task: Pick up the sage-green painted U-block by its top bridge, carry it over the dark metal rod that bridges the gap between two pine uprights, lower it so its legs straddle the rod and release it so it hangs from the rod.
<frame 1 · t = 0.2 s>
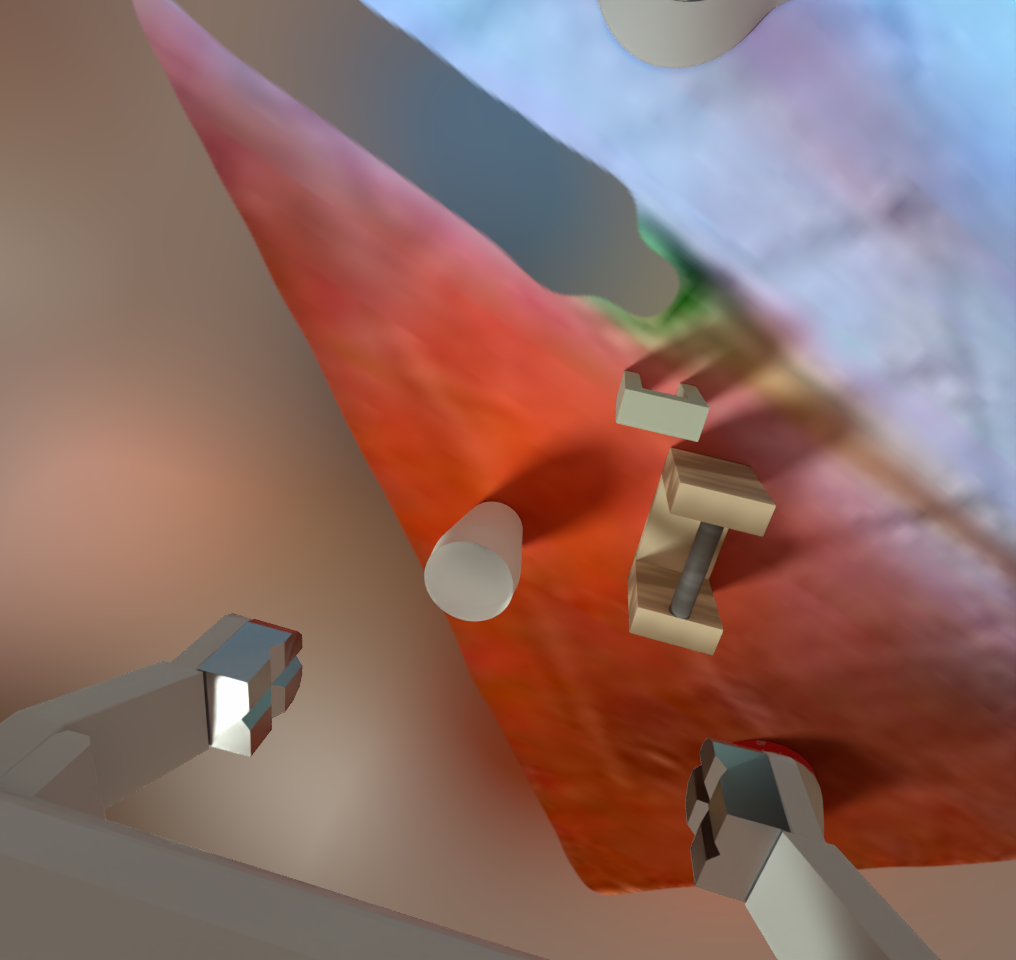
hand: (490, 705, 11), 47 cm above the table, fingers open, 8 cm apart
kitchen timer: (755, 780, 69), on the table
wooden frame with rod: (685, 525, 58), on the table
cup: (494, 526, 63), on the table
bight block: (655, 393, 54), on the table
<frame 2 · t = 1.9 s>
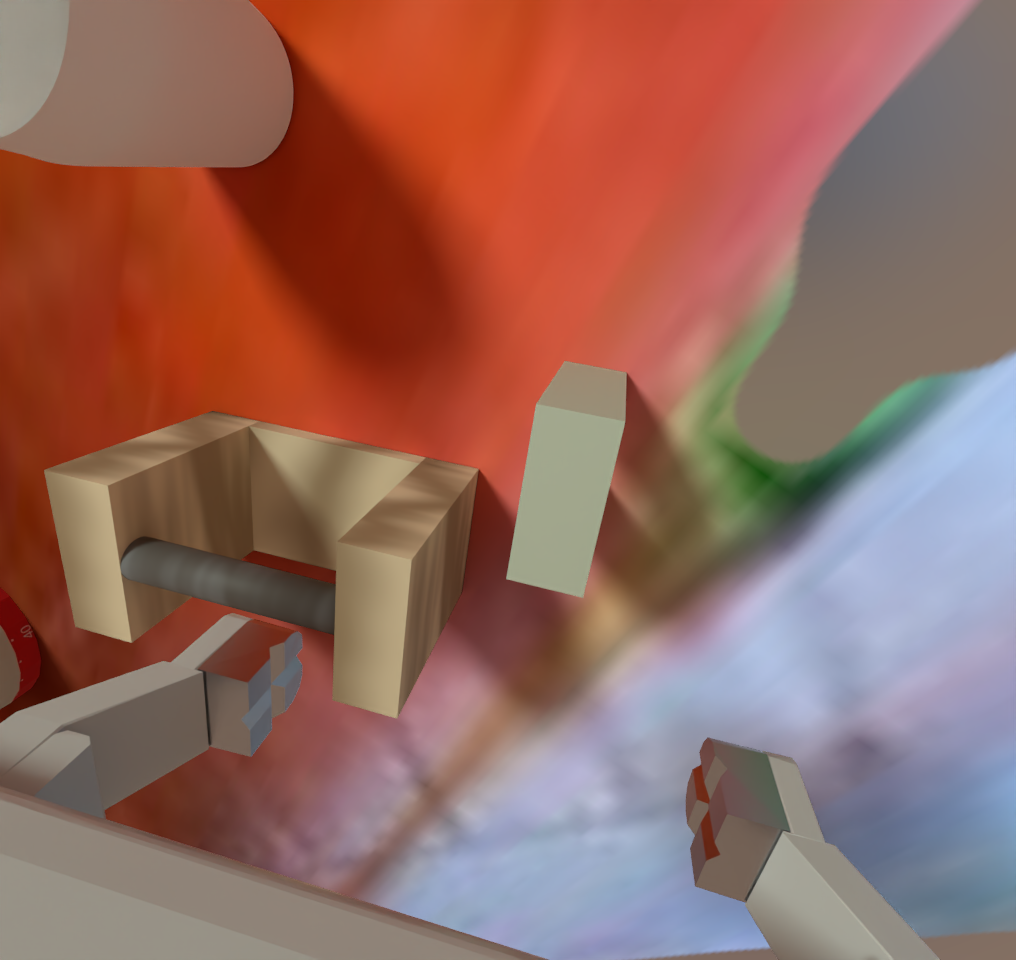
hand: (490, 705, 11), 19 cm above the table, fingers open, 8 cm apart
wooden frame with rod: (339, 502, 32), on the table
cup: (232, 87, 25), on the table
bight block: (581, 435, 28), on the table
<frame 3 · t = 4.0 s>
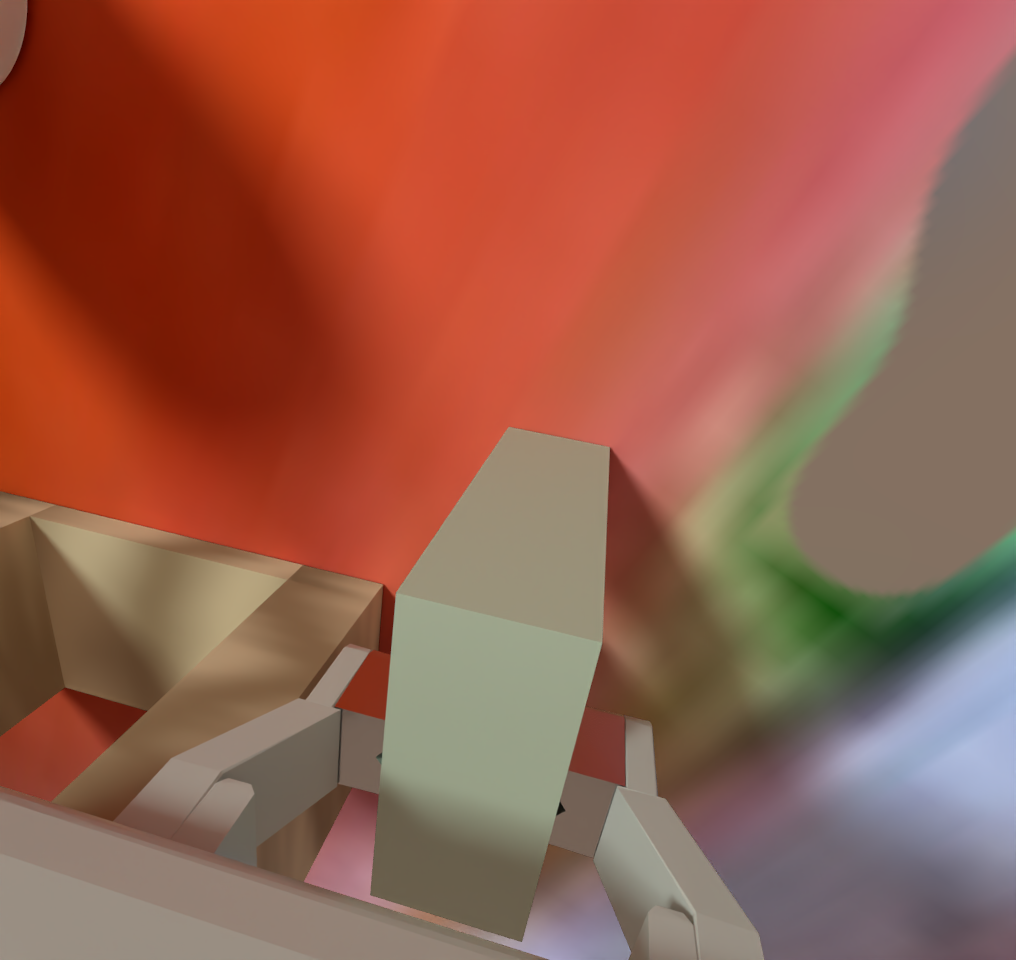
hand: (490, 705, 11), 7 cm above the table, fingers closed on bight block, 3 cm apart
wooden frame with rod: (184, 623, 22), on the table
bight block: (538, 541, 17), on the table, touching gripper
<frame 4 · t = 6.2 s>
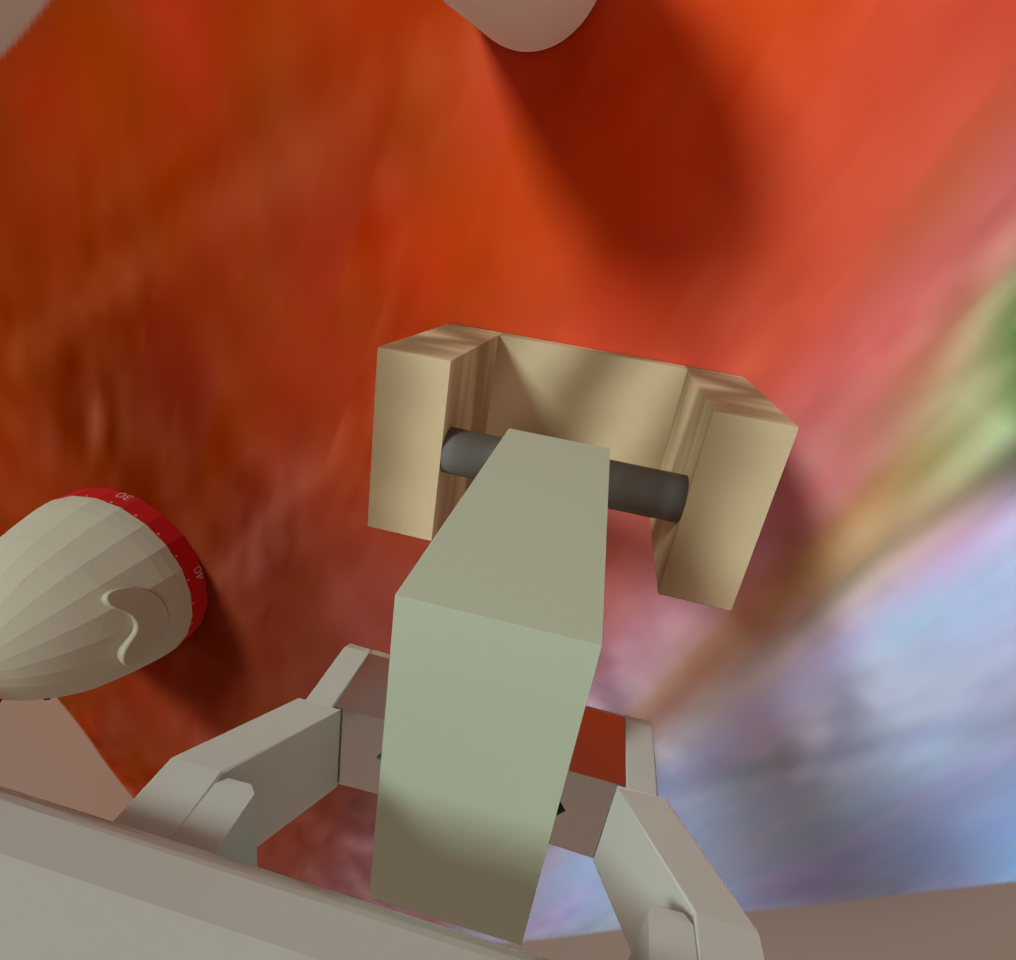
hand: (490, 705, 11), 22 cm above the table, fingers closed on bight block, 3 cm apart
kitchen timer: (129, 569, 43), on the table
wooden frame with rod: (577, 419, 31), on the table
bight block: (538, 542, 17), point 15 cm above the table, touching gripper
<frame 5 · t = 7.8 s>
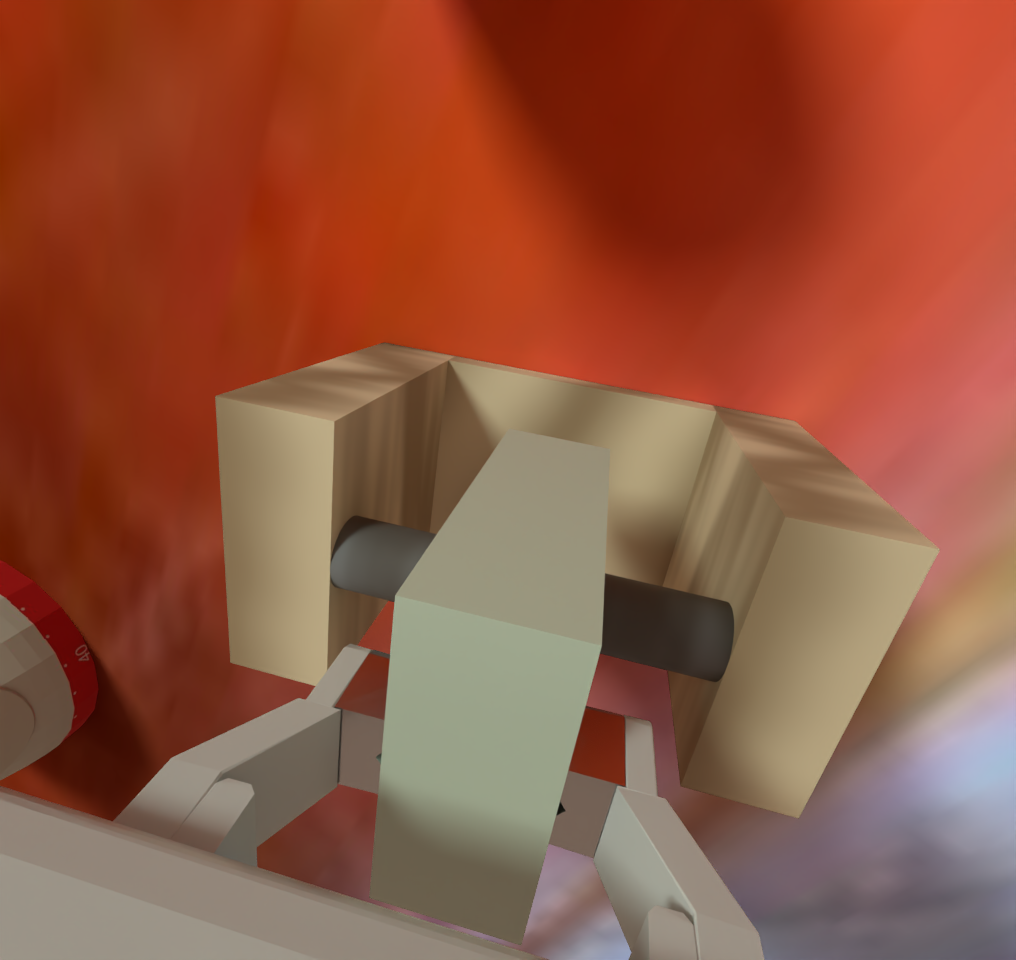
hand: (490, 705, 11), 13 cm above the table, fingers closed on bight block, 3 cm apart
kitchen timer: (2, 644, 34), on the table
wooden frame with rod: (560, 475, 23), on the table
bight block: (538, 542, 17), point 6 cm above the table, touching gripper
when the fingers open (12 cm above the table, at t = 8.8 s): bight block drops 1 cm, resting on wooden frame with rod.
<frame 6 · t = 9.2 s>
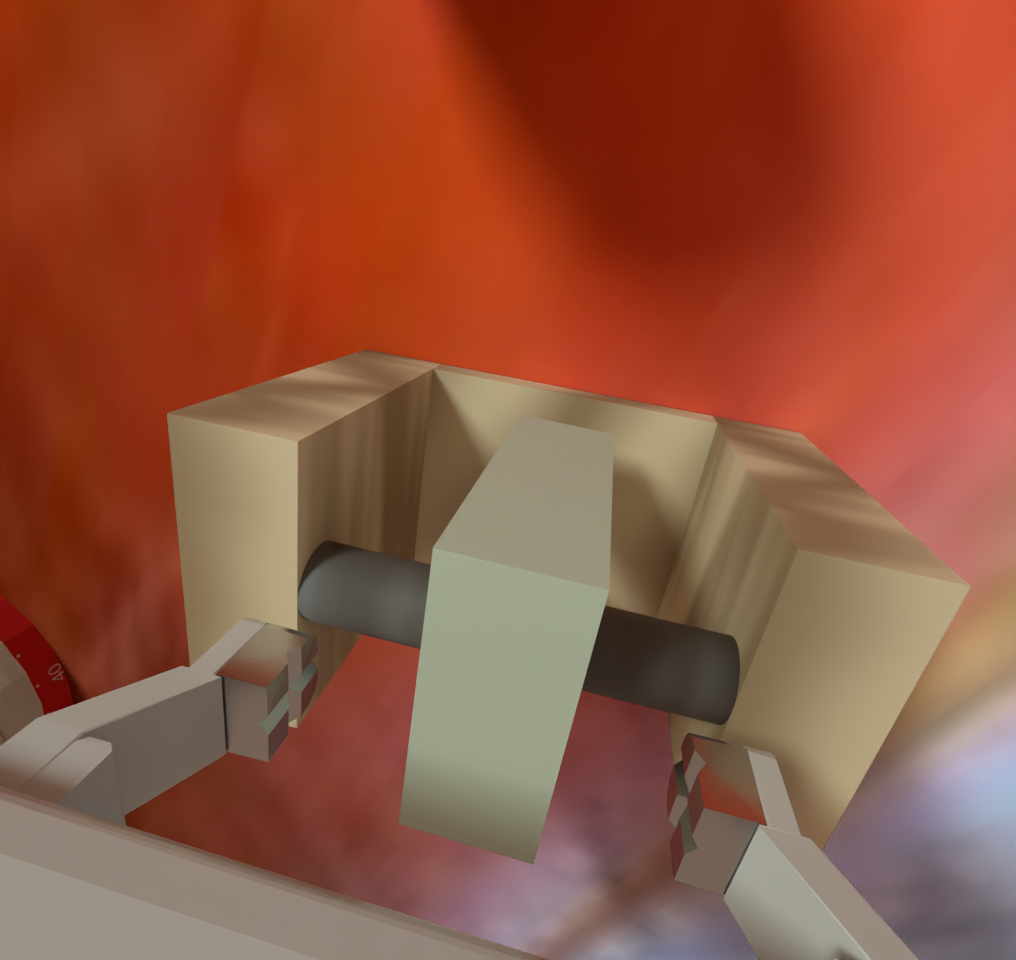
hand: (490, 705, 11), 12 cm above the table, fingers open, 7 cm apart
wooden frame with rod: (553, 489, 21), on the table
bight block: (546, 521, 19), point 3 cm above the table, touching wooden frame with rod
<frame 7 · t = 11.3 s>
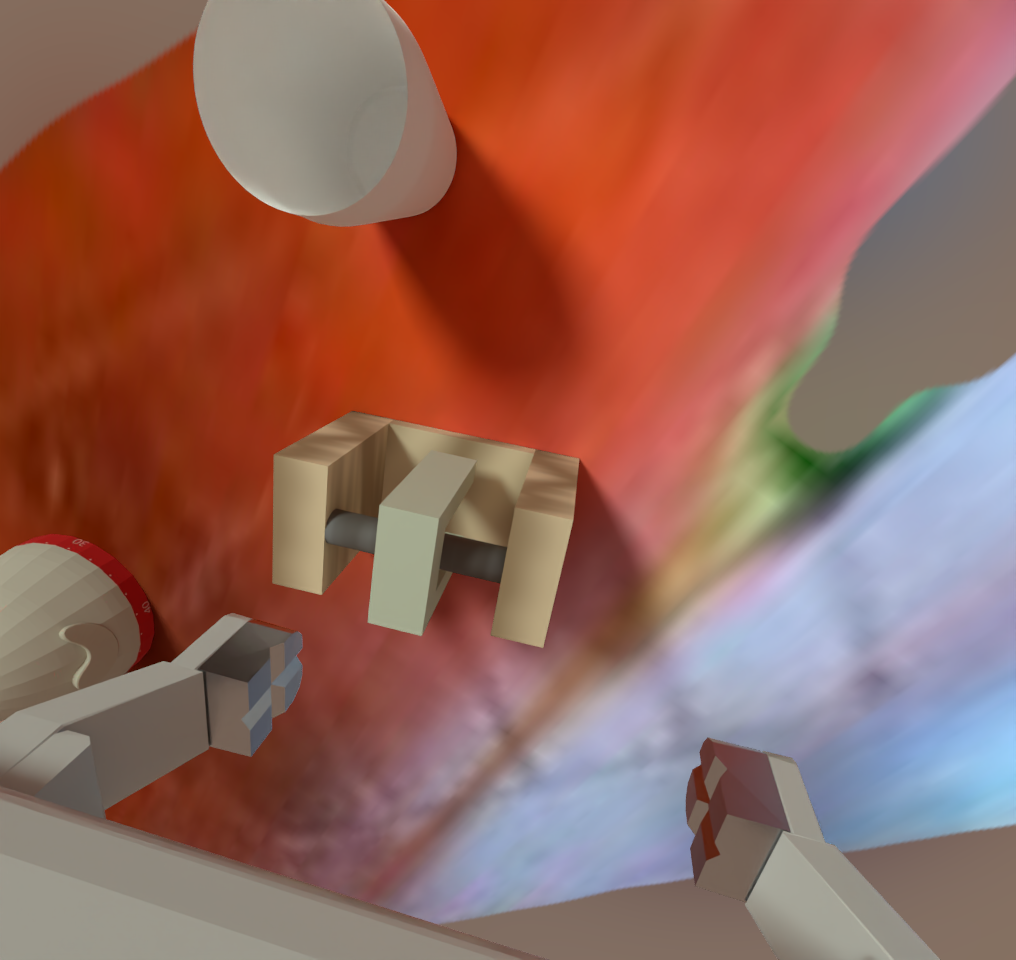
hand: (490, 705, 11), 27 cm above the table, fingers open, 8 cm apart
kitchen timer: (84, 603, 49), on the table
wooden frame with rod: (456, 487, 39), on the table
cup: (403, 155, 32), on the table
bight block: (446, 504, 36), point 3 cm above the table, touching wooden frame with rod
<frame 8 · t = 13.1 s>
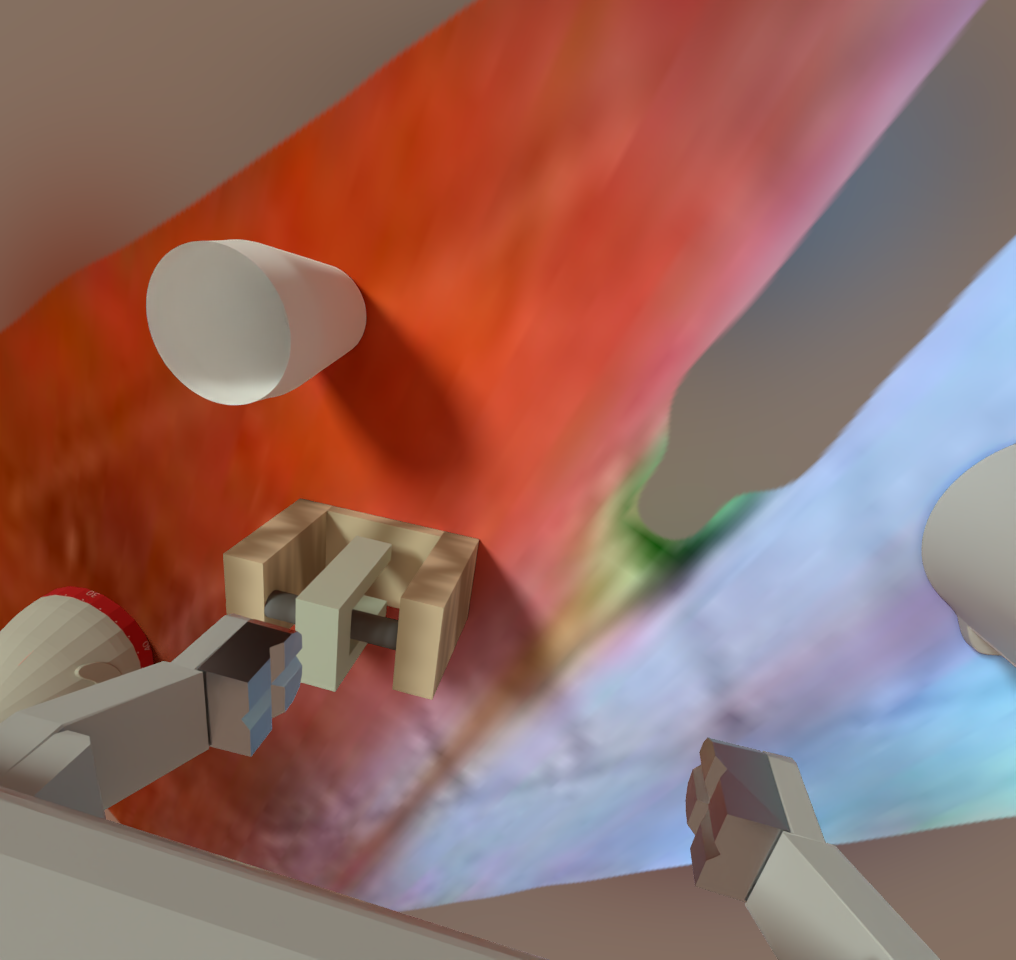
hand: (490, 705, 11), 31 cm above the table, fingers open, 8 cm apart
kitchen timer: (97, 641, 59), on the table
wooden frame with rod: (384, 559, 48), on the table
cup: (326, 311, 41), on the table
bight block: (371, 576, 45), point 3 cm above the table, touching wooden frame with rod
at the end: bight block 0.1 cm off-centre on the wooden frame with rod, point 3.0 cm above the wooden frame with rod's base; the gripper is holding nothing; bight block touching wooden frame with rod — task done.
